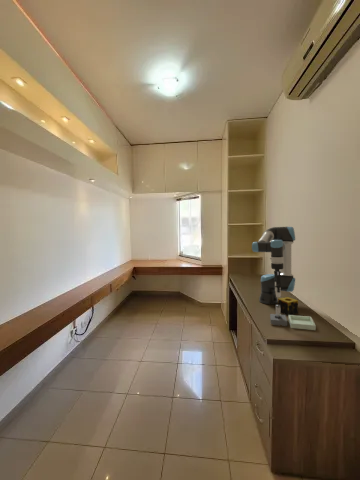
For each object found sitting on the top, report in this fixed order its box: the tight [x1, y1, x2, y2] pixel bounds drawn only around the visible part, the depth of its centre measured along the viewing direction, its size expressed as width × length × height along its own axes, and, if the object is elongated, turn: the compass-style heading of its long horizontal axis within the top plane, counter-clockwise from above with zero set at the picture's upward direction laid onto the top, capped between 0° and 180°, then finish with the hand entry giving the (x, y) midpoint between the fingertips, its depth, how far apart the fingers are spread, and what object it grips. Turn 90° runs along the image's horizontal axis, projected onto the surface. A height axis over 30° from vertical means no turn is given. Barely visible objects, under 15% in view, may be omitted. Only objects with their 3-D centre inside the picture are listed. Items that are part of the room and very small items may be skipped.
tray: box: [287, 314, 317, 331], centre depth 151 cm, size 14×14×3 cm
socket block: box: [269, 313, 288, 327], centre depth 155 cm, size 10×10×4 cm
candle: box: [277, 296, 299, 316], centre depth 171 cm, size 10×10×10 cm
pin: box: [275, 303, 282, 319], centre depth 155 cm, size 3×3×12 cm
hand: (277, 293), depth 154 cm, fingers open, 13 cm apart
